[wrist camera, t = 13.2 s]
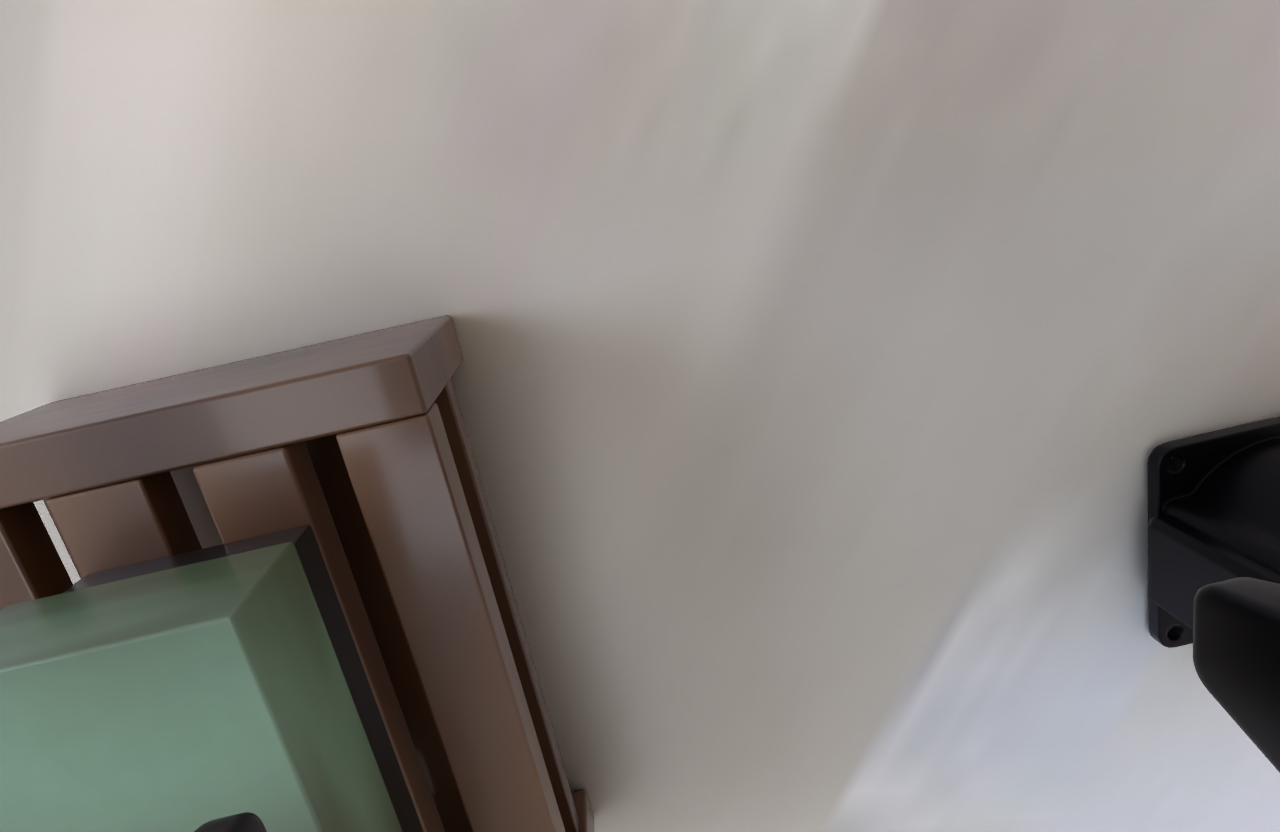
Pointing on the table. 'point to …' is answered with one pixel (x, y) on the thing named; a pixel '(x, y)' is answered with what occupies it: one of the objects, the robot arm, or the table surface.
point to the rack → (320, 540)
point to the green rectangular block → (194, 700)
